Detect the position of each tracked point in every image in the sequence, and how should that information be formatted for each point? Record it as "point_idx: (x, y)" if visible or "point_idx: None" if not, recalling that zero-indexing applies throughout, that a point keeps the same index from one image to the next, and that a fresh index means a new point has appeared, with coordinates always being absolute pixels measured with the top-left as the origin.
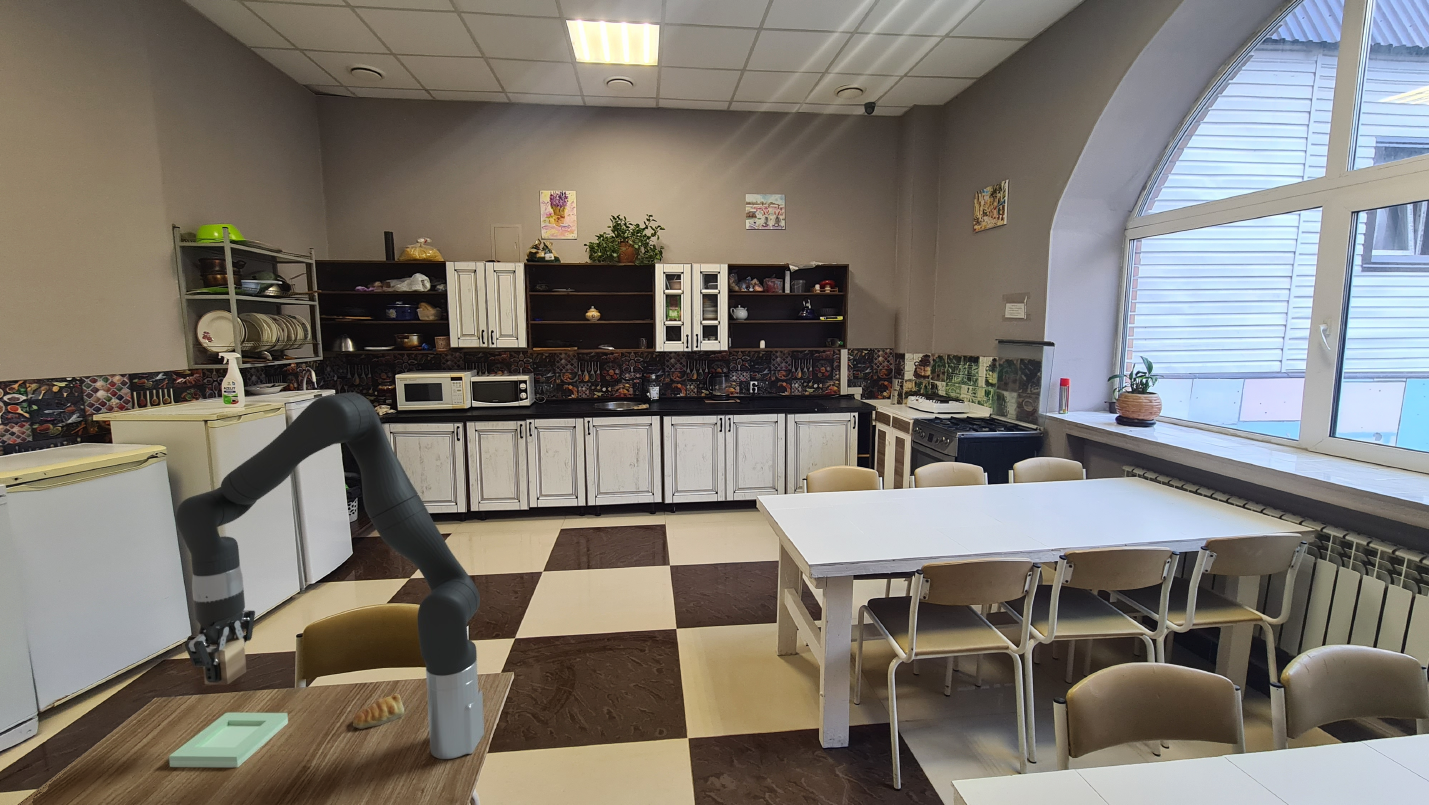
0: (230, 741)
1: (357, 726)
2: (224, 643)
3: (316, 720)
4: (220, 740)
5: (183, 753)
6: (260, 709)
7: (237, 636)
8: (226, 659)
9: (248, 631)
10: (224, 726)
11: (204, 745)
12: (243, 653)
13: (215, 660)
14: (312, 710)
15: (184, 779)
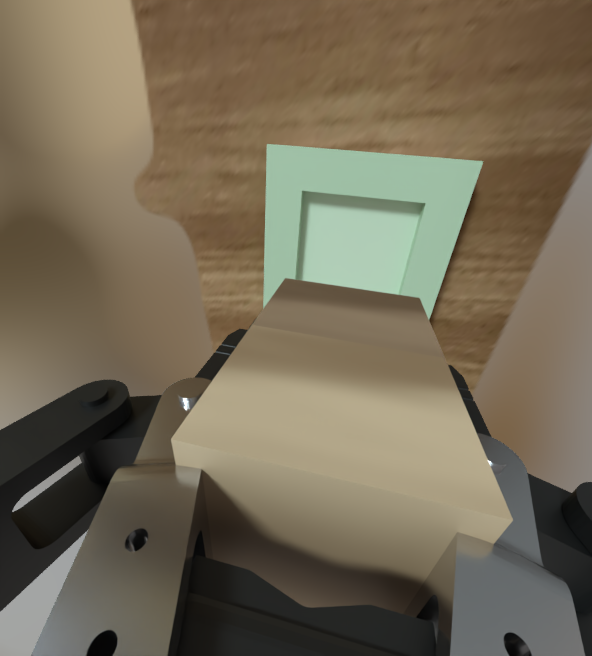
0: (367, 247)
1: None
2: (465, 639)
3: (265, 41)
4: (357, 276)
5: None
6: (223, 267)
7: (188, 536)
8: (449, 403)
9: (32, 460)
10: None
11: None
12: (257, 338)
13: (522, 481)
14: (217, 102)
15: (477, 277)
